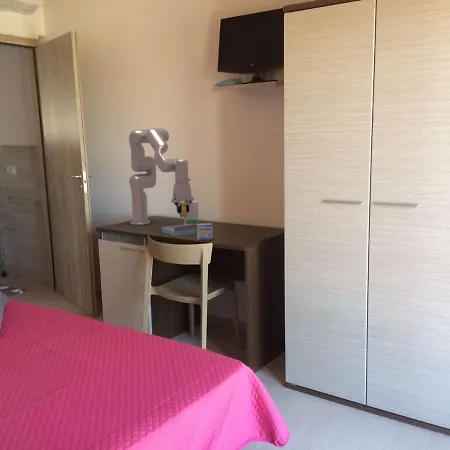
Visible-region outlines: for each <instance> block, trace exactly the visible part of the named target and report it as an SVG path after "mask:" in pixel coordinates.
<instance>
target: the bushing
mask: <svg viewBox="0 0 450 450" xmlns="http://www.w3.org/2000/svg"><path fill="white" fill-rule="evenodd" d="M186 205H187V202H184V201H181V202H180V207H181V213H180V214H179V217H180V218H184V217H187V207H186Z"/></svg>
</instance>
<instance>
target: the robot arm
mask: <svg viewBox="0 0 450 450" xmlns="http://www.w3.org/2000/svg"><path fill="white" fill-rule="evenodd" d="M169 138H170V135H169V132H168V130H167V129H166V128H162V127H161V128H159V127H158V128H156V127H155V128H150V129H149V128H148V129H147V128H146V129H141V128H139V129H134V130H132V131H130V133H129V135H128V143H129V146H130V161H131V162H130V164H131V170H132V171H133V172H136V173H135V174H132V175H131V176H130V178H129V187H130V194H131V206H132V207H131V209H132V210H131V211H132V220H131V221H130V225H136V226H137V225H138V226H140V225H149V224H150V223H151V220H149V219H148V197H147V193H146V191H145V189H151V188H154V187H156V184H157V168H158V169H159V171H161V172H162V173H174V174H175V175H174V177H175V178H174V179H175V183H174V184H173V190H172V199H171V203H172V204H173V205H175V207H176V212H177V214H179V215H180V213H181V207H180V202H184V201H185V202H187V205H186V207H187V213H189V206H190V204H191V202H192V201H195V197H194V196H193V195H192V188H191V184H190V181H191V178H190V177H189V162H188V160H187V159H183V158H182V159H180V158H167V159H165V158H164V156H163V155H164V154H165V153H166V152H168V149H169V145H168V143H167V142H168V141H169V140H170V139H169ZM142 144H149V145H150V146H151V148H152V149H153V151H154V155H153V156H154V157H152V156H145V155H146V153H145V147H144V146H143V145H142ZM143 172H145V173H143Z"/></svg>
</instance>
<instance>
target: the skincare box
mask: <svg viewBox="0 0 450 450" xmlns="http://www.w3.org/2000/svg"><path fill="white" fill-rule="evenodd" d="M183 202H185V201H183ZM183 218H184V219H183V225H185V224H199V201H198V200H193V201H192V202H191V204H190V206H189V213H187V217H183Z"/></svg>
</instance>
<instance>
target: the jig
mask: <svg viewBox="0 0 450 450" xmlns="http://www.w3.org/2000/svg"><path fill="white" fill-rule="evenodd" d="M199 224H204V223H202V222H201V223H199ZM162 232H163V233H162ZM161 233H162V234H165V233H166V234H165V235H168V234H169V236H171V235H172V236H171V237H173V236H176V237H183V236H182V235H184V236H189V235H191V236H192V235H197V224H185V225H184V224H178V225H169V226H162V227H161Z"/></svg>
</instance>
